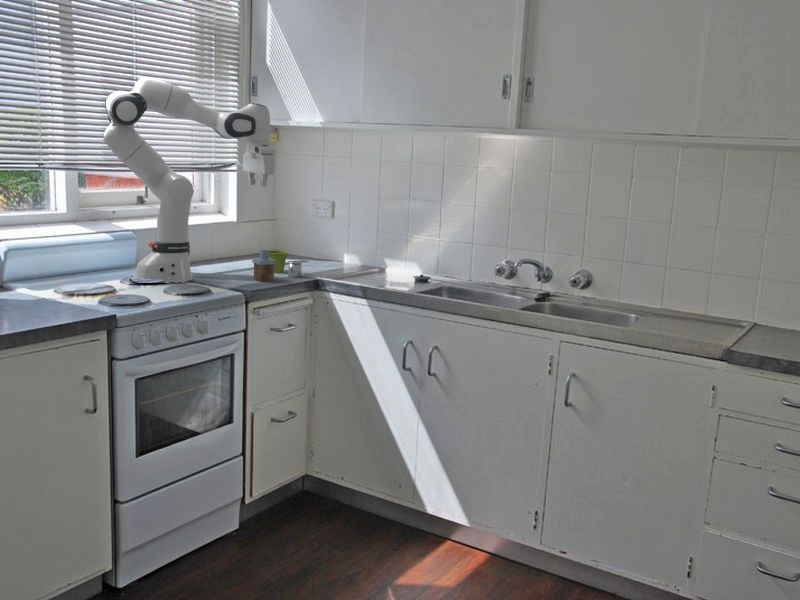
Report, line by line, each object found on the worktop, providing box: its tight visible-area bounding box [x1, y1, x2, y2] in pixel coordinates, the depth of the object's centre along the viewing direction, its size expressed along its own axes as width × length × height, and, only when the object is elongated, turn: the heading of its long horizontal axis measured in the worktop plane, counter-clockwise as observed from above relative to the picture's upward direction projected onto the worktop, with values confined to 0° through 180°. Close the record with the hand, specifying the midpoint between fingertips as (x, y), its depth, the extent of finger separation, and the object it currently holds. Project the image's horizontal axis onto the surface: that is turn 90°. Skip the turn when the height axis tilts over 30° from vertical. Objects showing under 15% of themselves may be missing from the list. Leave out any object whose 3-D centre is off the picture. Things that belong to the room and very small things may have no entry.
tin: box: [287, 260, 303, 279], centre depth 328 cm, size 5×5×6 cm
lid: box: [251, 249, 276, 265], centre depth 316 cm, size 7×7×5 cm
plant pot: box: [268, 249, 289, 274], centre depth 337 cm, size 9×9×9 cm
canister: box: [253, 263, 275, 283], centre depth 317 cm, size 6×6×7 cm
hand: (257, 185), depth 318 cm, fingers open, 8 cm apart
